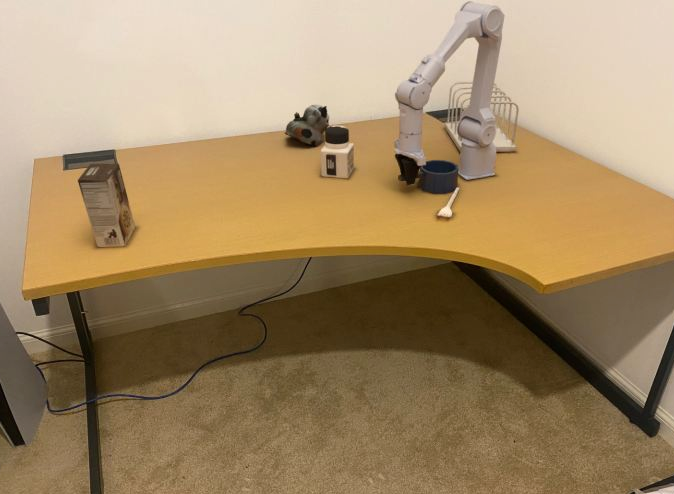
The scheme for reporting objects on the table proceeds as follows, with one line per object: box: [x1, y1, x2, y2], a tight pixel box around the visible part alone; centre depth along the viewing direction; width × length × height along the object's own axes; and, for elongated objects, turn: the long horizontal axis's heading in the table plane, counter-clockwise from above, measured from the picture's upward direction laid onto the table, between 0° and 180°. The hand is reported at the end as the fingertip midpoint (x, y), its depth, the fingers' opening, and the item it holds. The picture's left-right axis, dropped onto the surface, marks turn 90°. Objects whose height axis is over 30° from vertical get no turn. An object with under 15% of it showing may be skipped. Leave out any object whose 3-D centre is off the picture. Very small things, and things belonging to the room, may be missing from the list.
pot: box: [397, 159, 459, 195], centre depth 152 cm, size 17×10×6 cm, turn 118°
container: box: [320, 125, 355, 179], centre depth 159 cm, size 8×8×13 cm
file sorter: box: [444, 81, 520, 153], centre depth 182 cm, size 25×17×16 cm
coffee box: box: [77, 163, 136, 248], centre depth 126 cm, size 9×6×16 cm
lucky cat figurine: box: [284, 104, 330, 147], centre depth 182 cm, size 15×12×14 cm
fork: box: [436, 186, 460, 218], centre depth 145 cm, size 3×20×2 cm, turn 161°
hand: (408, 182), depth 150 cm, fingers closed on pot, 2 cm apart
